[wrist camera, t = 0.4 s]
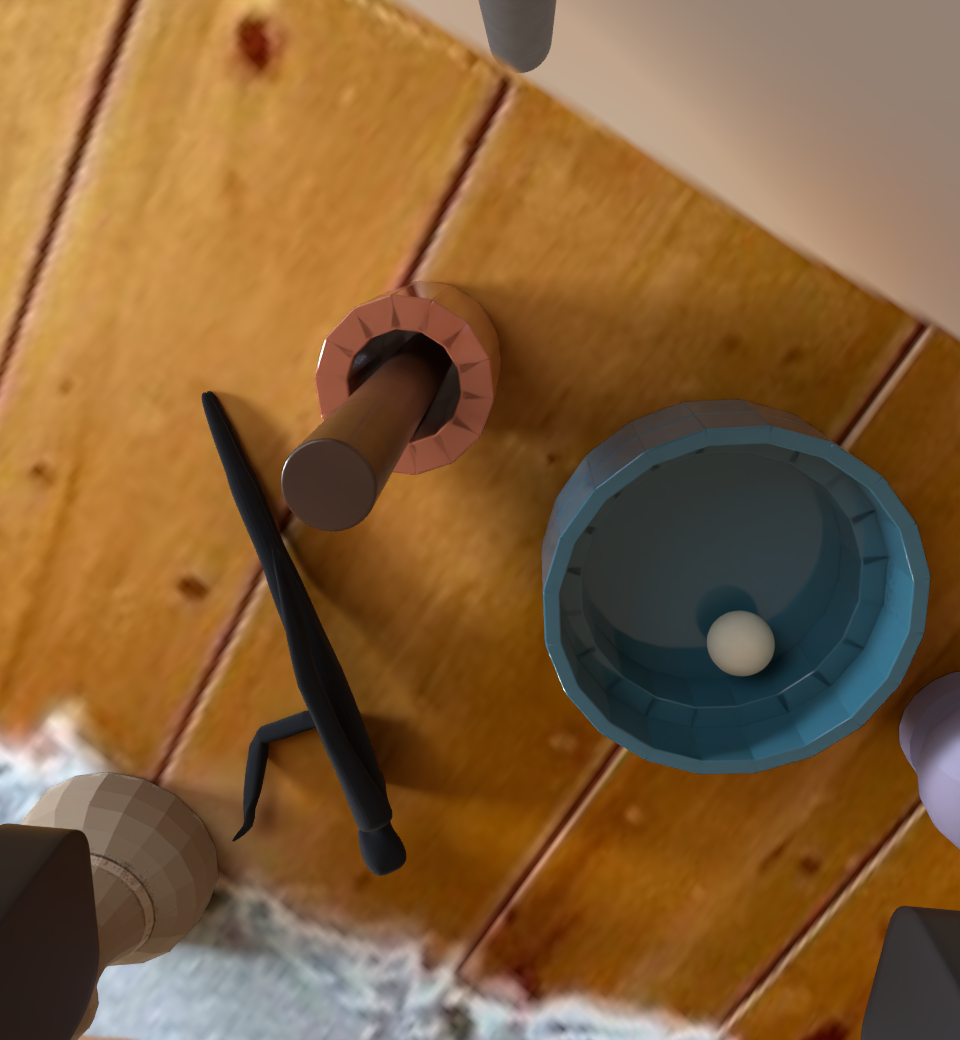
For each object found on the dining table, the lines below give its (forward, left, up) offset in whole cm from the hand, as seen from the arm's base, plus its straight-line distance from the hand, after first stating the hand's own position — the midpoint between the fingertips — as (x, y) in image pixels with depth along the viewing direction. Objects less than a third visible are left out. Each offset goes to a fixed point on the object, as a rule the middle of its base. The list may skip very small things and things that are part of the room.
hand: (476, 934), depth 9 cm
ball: (+4, +15, -30) cm, 34 cm away
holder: (+1, -4, -32) cm, 33 cm away
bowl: (+2, +12, -32) cm, 35 cm away
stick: (+1, -4, -32) cm, 32 cm away
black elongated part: (+18, -4, -33) cm, 38 cm away
